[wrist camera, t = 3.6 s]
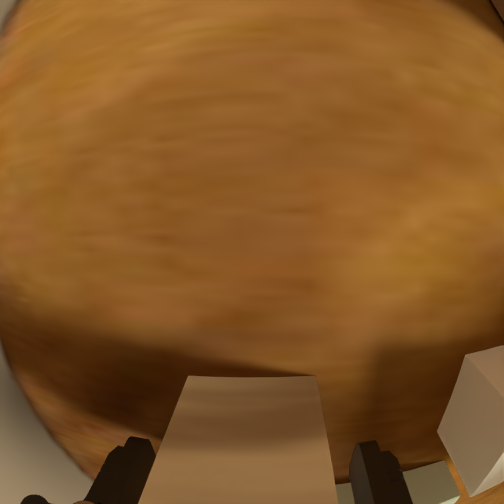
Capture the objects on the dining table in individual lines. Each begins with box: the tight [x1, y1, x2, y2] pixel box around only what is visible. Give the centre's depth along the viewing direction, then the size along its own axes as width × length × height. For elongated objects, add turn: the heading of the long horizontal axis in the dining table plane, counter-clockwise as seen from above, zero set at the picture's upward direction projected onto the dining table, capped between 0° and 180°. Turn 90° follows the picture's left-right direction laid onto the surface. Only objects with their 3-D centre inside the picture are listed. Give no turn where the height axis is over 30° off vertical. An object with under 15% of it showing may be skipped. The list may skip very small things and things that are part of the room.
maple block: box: [138, 375, 338, 504], centre depth 8 cm, size 5×5×8 cm
